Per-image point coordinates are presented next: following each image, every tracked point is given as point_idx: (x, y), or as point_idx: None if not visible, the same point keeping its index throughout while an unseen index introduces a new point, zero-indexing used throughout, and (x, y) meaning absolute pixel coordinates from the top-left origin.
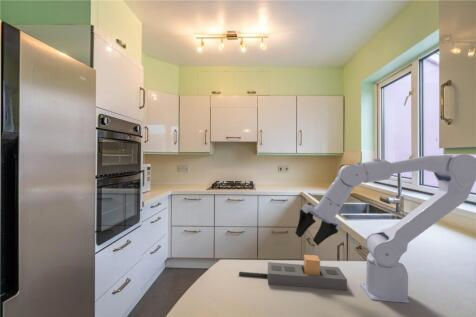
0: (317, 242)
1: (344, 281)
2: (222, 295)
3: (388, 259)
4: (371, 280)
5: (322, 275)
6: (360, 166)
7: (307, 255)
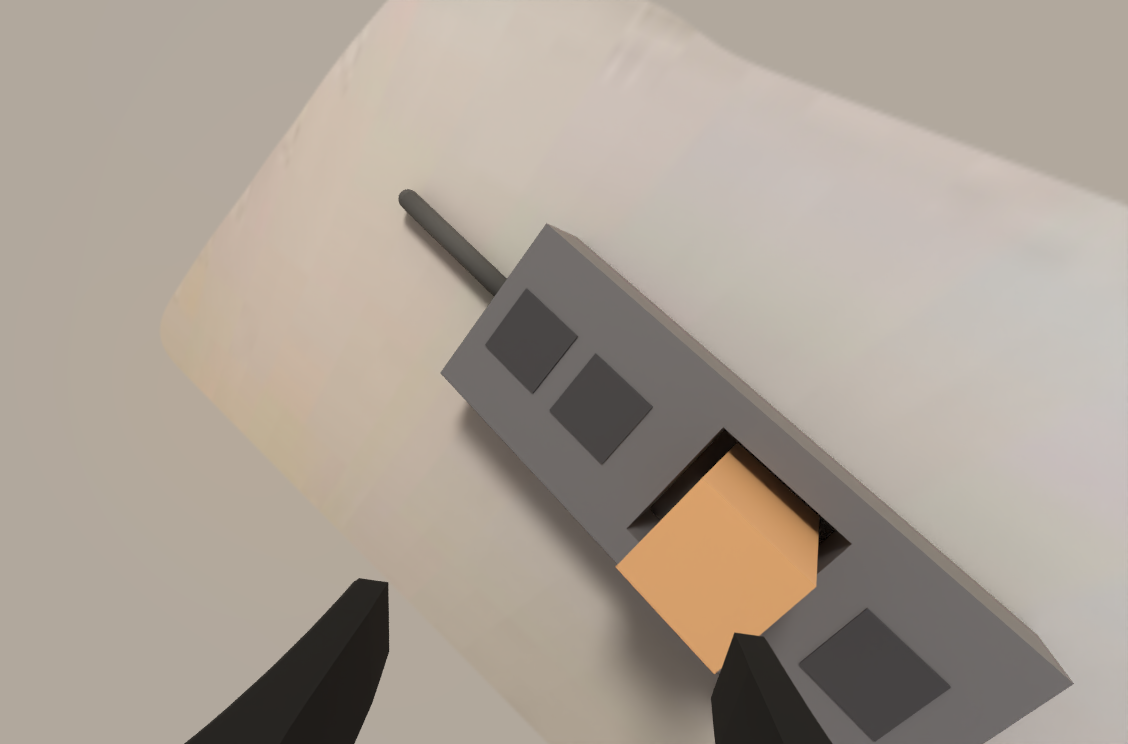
0: (717, 720)
1: None
2: (281, 332)
3: None
4: None
5: None
6: None
7: (717, 513)
